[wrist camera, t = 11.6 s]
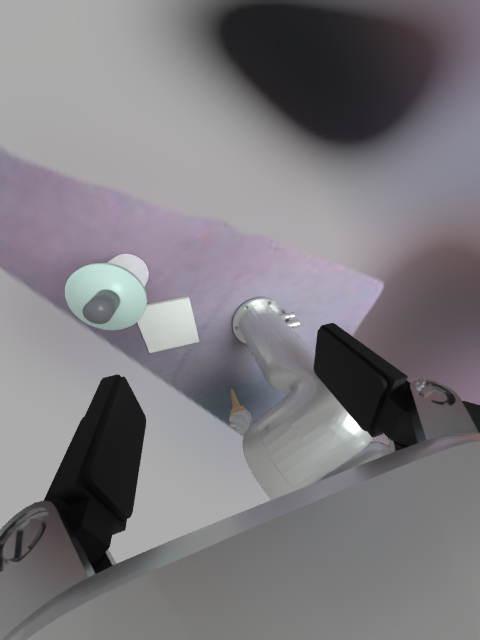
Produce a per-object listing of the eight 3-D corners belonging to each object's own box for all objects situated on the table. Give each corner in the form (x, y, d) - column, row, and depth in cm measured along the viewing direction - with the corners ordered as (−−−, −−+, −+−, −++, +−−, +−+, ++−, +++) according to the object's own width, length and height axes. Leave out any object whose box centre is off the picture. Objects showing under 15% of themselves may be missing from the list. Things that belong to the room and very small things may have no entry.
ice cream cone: (242, 390, 59) (260, 439, 46) (224, 397, 59) (237, 449, 46) (237, 377, 56) (254, 426, 44) (218, 385, 56) (230, 437, 43)
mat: (188, 296, 42) (189, 297, 41) (199, 339, 47) (199, 341, 46) (132, 306, 40) (131, 308, 39) (150, 350, 45) (149, 353, 44)
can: (126, 294, 39) (107, 324, 28) (100, 264, 35) (69, 285, 25) (156, 278, 39) (148, 302, 28) (133, 246, 35) (115, 261, 25)
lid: (133, 256, 25) (124, 266, 21) (155, 318, 30) (152, 336, 26) (52, 269, 24) (25, 282, 19) (89, 332, 28) (73, 354, 24)
